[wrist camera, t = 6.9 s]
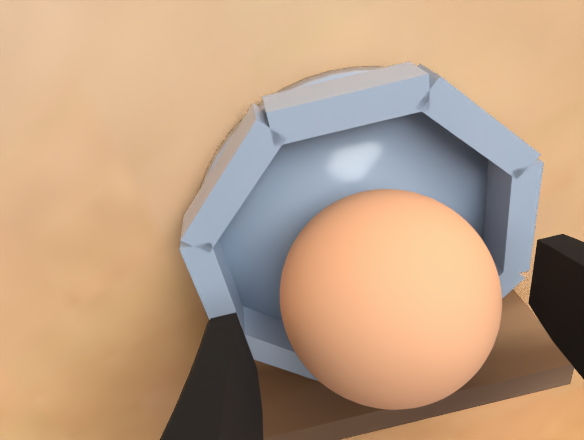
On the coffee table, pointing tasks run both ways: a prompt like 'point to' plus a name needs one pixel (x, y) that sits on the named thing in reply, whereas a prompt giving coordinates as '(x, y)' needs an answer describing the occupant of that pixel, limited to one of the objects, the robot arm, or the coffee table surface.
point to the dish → (349, 183)
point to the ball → (390, 299)
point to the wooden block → (477, 391)
